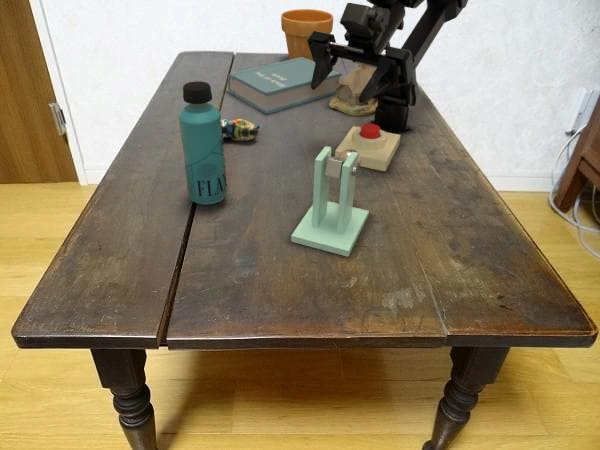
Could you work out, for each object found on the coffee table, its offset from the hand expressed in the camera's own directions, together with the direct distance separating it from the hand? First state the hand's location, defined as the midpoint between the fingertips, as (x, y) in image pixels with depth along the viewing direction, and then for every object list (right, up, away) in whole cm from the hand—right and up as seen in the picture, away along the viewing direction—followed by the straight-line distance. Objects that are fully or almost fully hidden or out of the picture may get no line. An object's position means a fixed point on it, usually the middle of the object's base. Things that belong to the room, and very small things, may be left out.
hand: (335, 94), depth 80 cm
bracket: (-1, -22, -4) cm, 23 cm away
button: (+8, -4, +14) cm, 17 cm away
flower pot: (-4, +25, +59) cm, 64 cm away
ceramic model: (+8, +7, +35) cm, 37 cm away
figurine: (-22, -3, +20) cm, 30 cm away
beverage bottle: (-21, -18, +1) cm, 28 cm away
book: (-10, +11, +40) cm, 43 cm away
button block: (+8, -7, +16) cm, 19 cm away
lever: (0, -14, -7) cm, 16 cm away
